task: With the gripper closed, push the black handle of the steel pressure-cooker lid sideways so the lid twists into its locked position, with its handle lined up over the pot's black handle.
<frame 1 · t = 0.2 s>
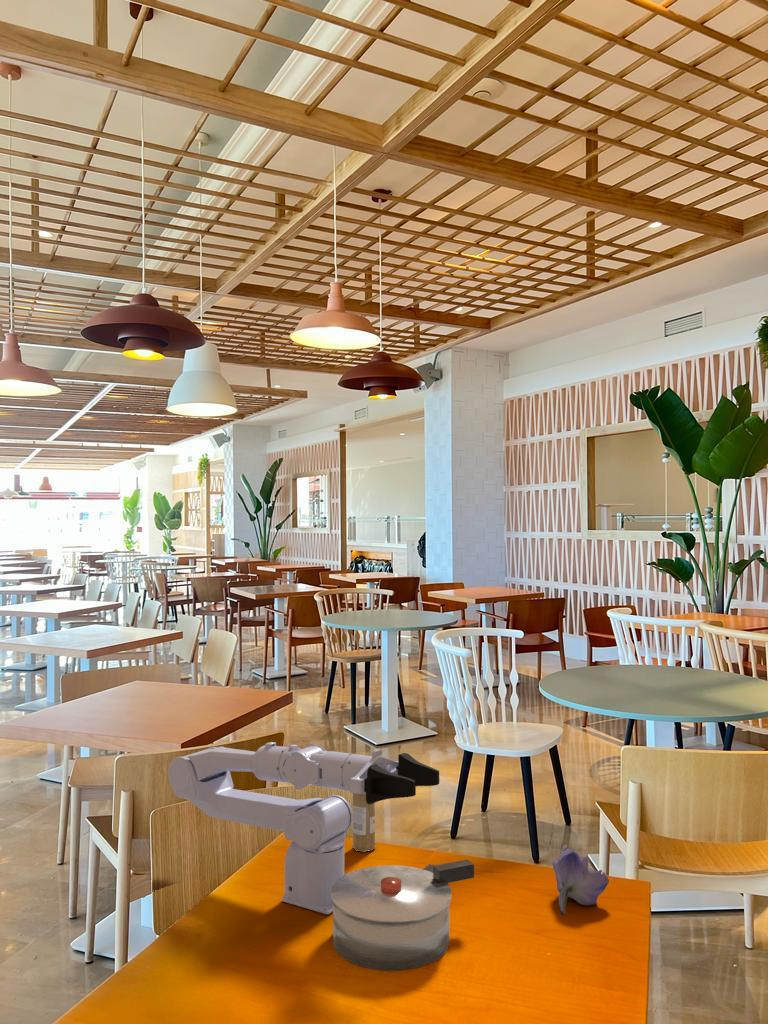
hand: (426, 783, 113), 22 cm above the table, tool horizontal, fingers open, 7 cm apart
cooker lid: (405, 883, 111), point 8 cm above the table, hinge at -35.0°
flower: (576, 906, 120), on the table
cooker pot: (391, 939, 109), on the table
sprinkles bottle: (363, 849, 143), on the table
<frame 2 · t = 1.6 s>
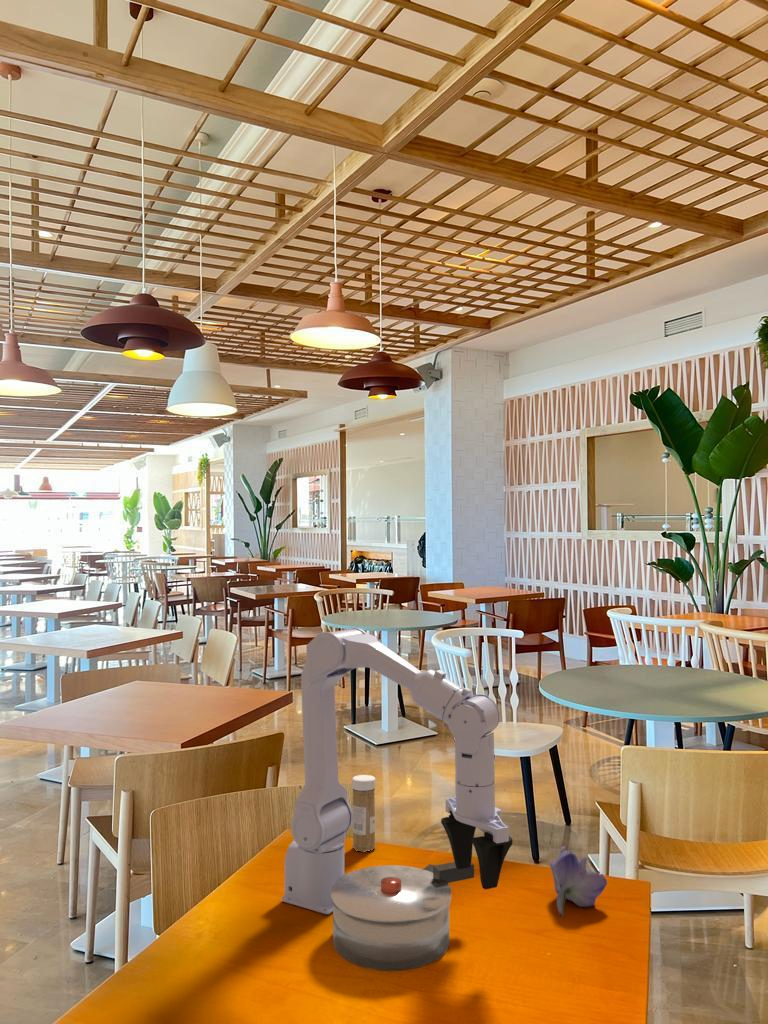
hand: (476, 877, 108), 9 cm above the table, tool pointing down, fingers open, 7 cm apart
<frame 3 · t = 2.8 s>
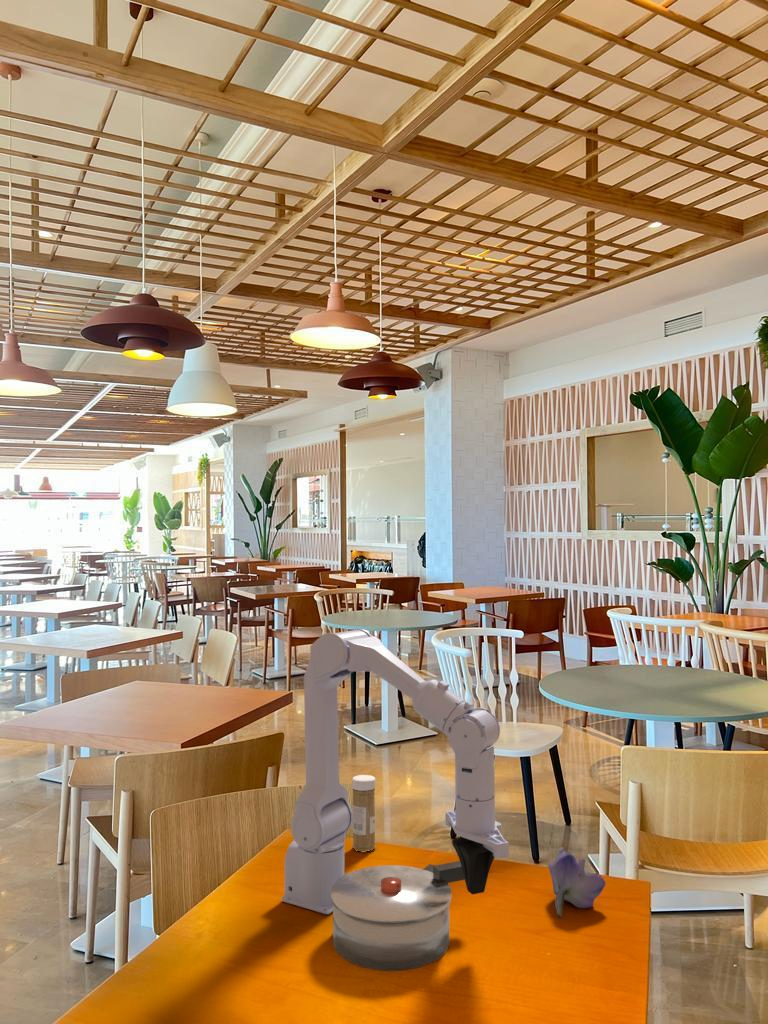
hand: (475, 891, 108), 7 cm above the table, tool pointing down, fingers closed
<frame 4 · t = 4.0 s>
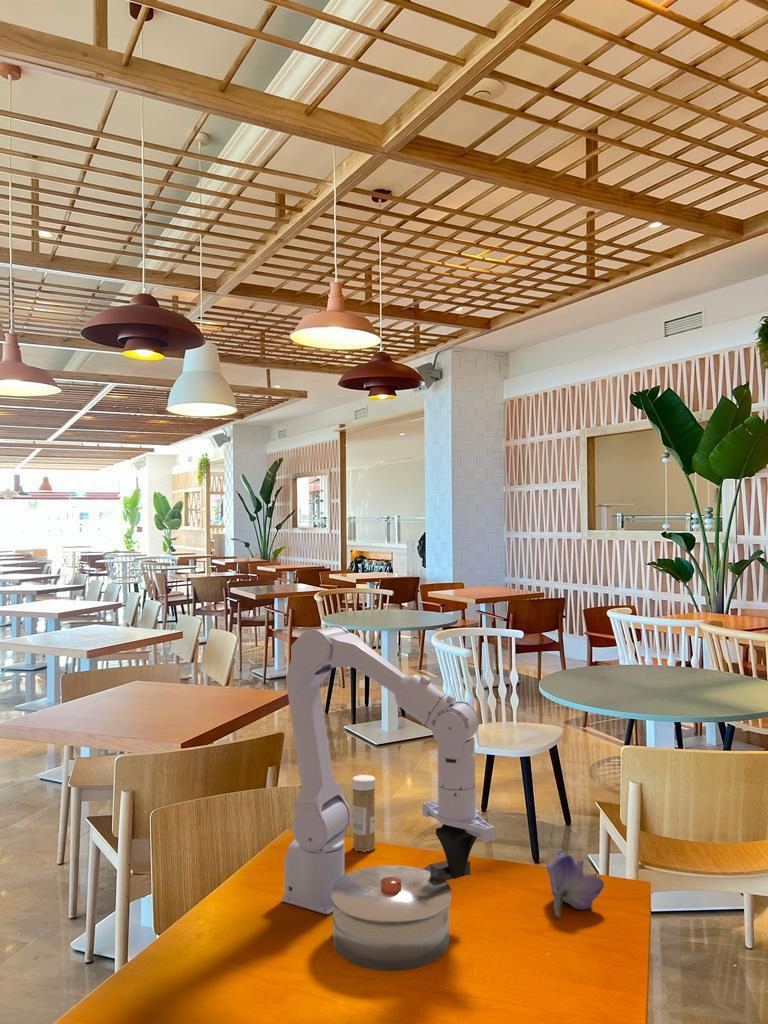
hand: (457, 876, 113), 7 cm above the table, tool pointing down, fingers closed
cooker lid: (404, 882, 111), point 8 cm above the table, hinge at -29.7°, touching gripper
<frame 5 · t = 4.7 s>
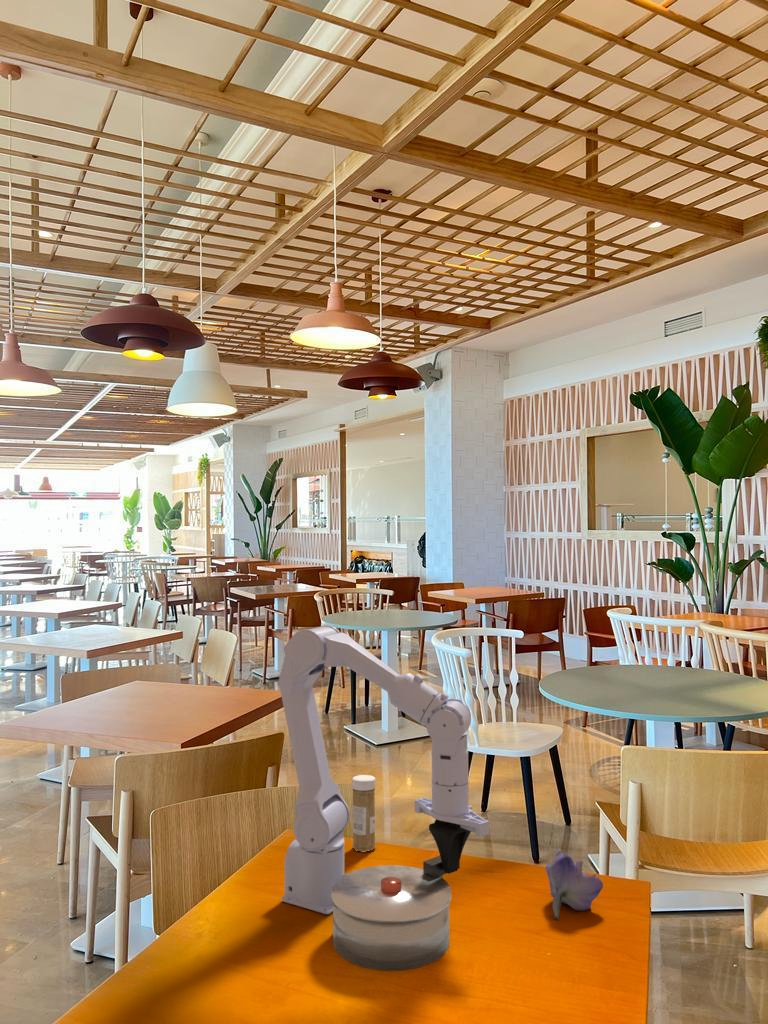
hand: (450, 871, 115), 7 cm above the table, tool pointing down, fingers closed
cooker lid: (402, 881, 111), point 8 cm above the table, hinge at -18.2°, touching gripper
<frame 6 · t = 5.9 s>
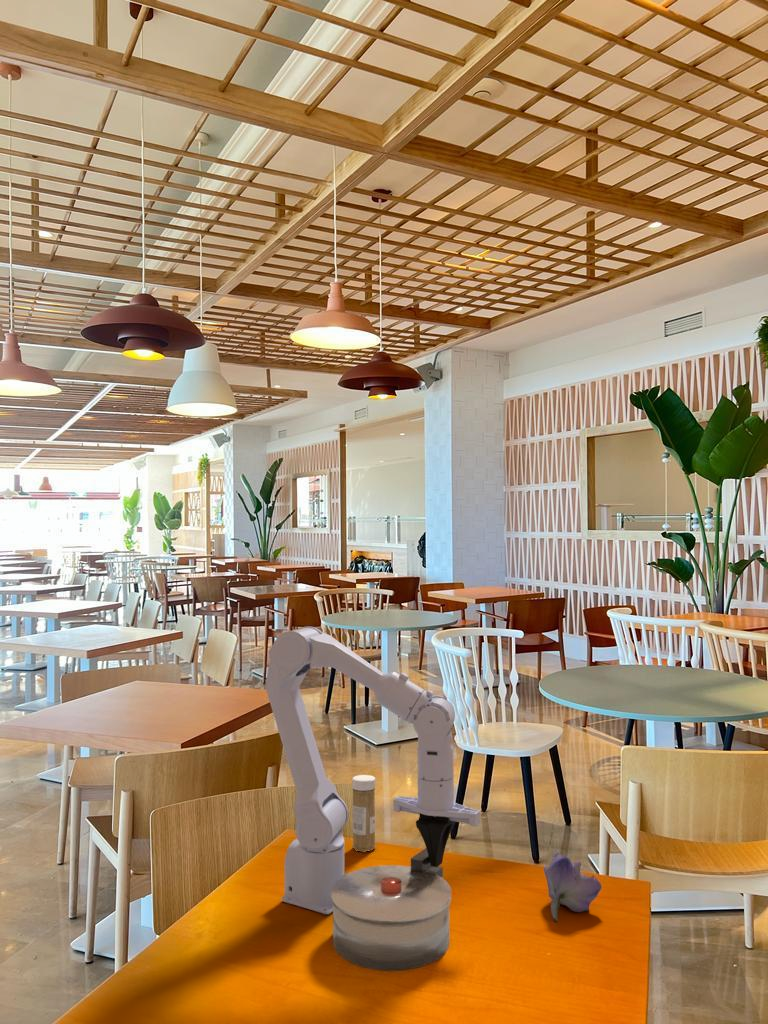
hand: (436, 864, 117), 7 cm above the table, tool pointing down, fingers closed
cooker lid: (399, 880, 112), point 8 cm above the table, hinge at -1.0°, touching gripper
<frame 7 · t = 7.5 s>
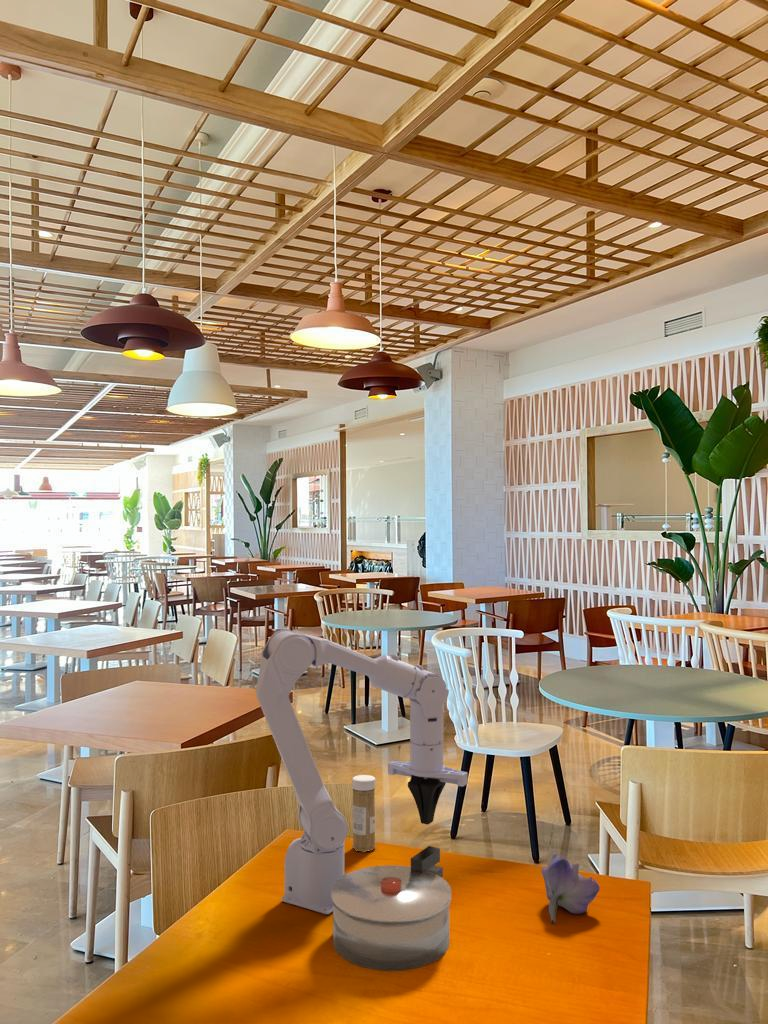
hand: (427, 822, 128), 10 cm above the table, tool pointing down, fingers closed
cooker lid: (399, 880, 112), point 7 cm above the table, hinge at -1.0°
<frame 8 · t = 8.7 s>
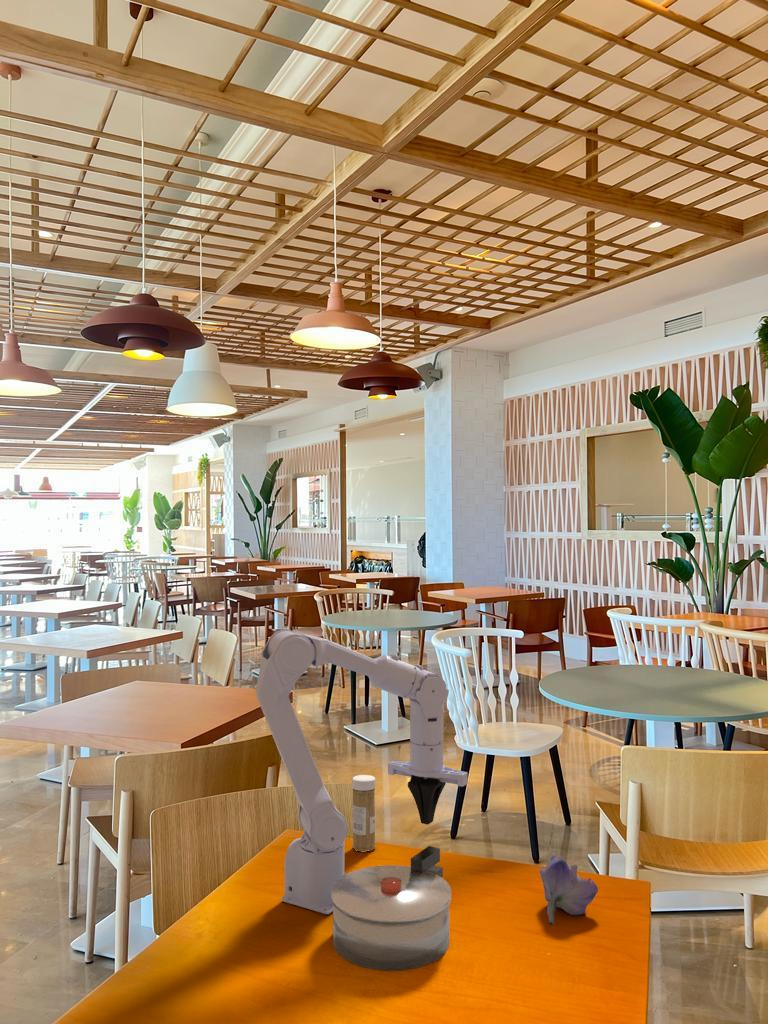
hand: (427, 822, 128), 10 cm above the table, tool pointing down, fingers closed
at the end: cooker lid at -1° (first picture: -35°) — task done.
